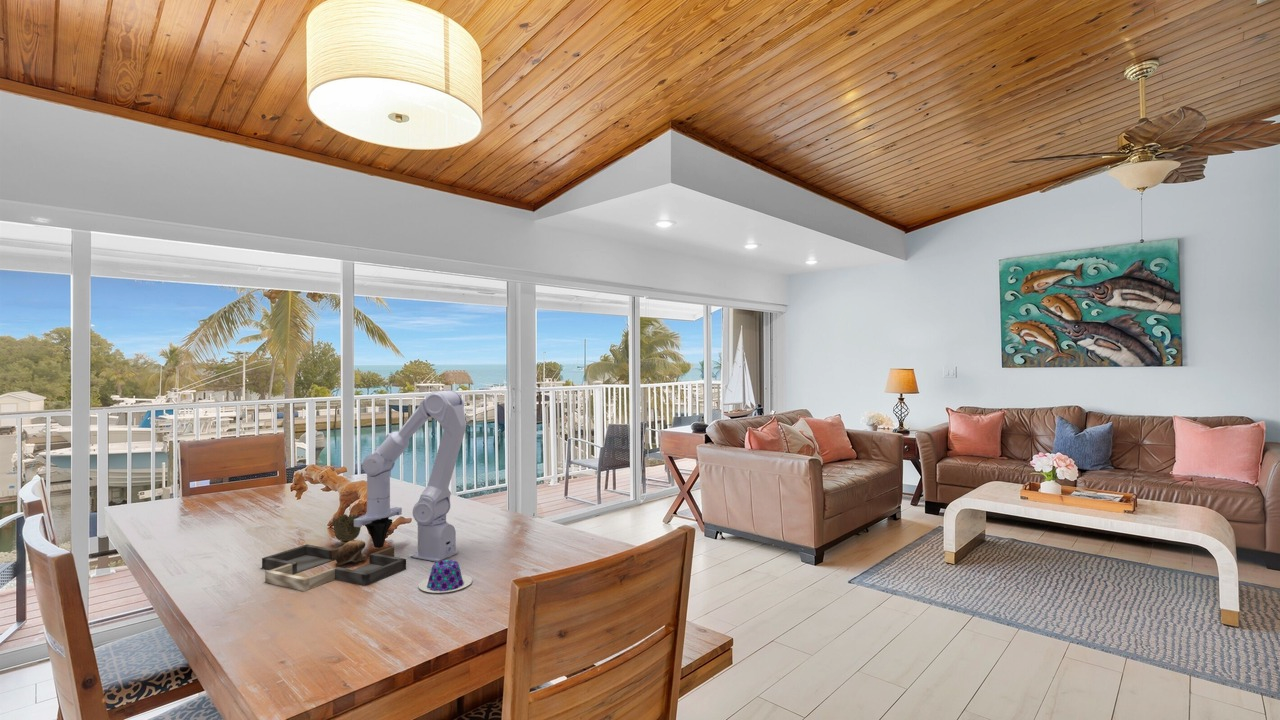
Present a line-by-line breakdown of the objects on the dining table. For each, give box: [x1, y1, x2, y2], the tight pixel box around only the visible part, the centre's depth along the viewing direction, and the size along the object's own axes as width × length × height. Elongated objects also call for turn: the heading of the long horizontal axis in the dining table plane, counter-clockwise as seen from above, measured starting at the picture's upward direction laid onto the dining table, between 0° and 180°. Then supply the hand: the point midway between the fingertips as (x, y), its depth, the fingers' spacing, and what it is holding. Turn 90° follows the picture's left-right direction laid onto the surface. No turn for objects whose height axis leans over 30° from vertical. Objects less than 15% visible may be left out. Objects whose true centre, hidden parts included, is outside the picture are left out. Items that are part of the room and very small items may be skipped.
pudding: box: [417, 559, 473, 594], centre depth 142 cm, size 12×12×5 cm
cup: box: [332, 513, 362, 547], centre depth 172 cm, size 8×7×8 cm
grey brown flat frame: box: [261, 544, 407, 592], centre depth 153 cm, size 33×26×2 cm
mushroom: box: [335, 539, 367, 566], centre depth 157 cm, size 8×8×6 cm
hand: (378, 547), depth 165 cm, fingers closed
